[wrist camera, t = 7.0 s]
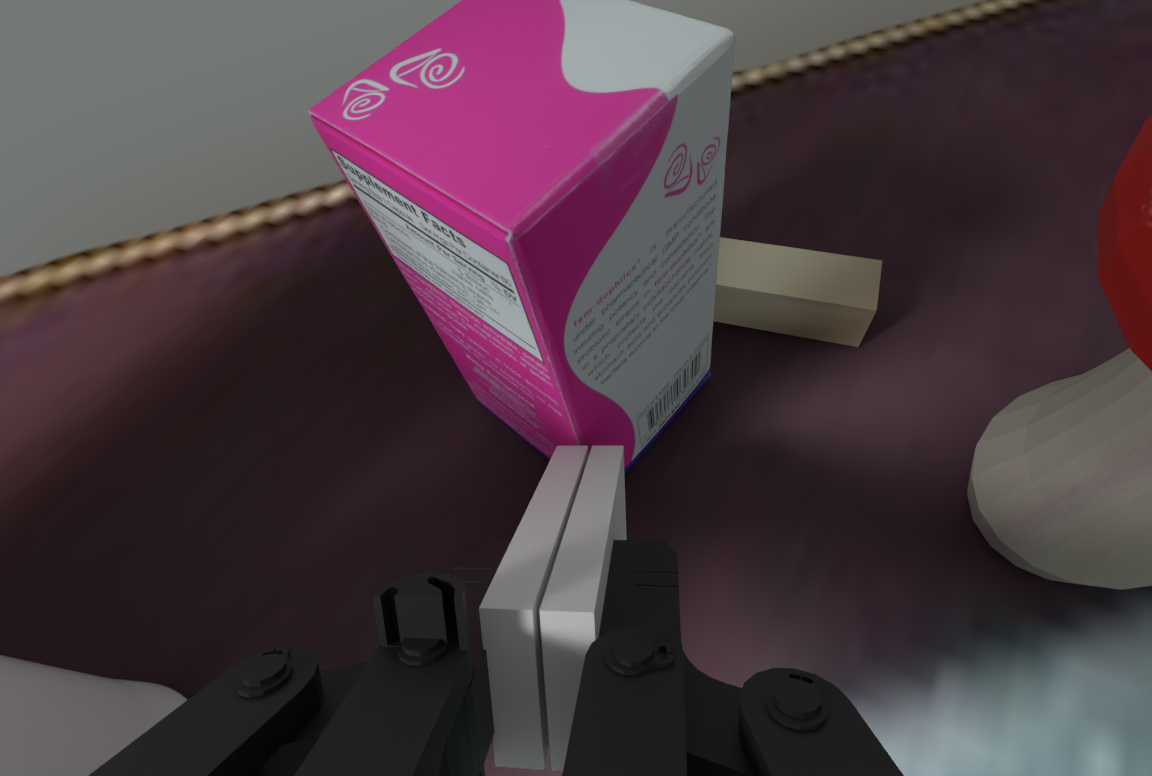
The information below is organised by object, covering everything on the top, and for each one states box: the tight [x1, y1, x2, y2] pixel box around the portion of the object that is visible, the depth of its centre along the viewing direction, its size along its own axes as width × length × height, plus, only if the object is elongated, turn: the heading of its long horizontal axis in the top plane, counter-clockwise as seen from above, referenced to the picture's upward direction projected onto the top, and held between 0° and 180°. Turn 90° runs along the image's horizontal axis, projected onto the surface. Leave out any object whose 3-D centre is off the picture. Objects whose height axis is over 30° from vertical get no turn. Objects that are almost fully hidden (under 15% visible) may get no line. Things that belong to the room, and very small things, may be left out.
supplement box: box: [308, 0, 735, 475], centre depth 15 cm, size 6×6×12 cm
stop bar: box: [713, 237, 882, 347], centre depth 21 cm, size 15×2×2 cm, turn 72°
